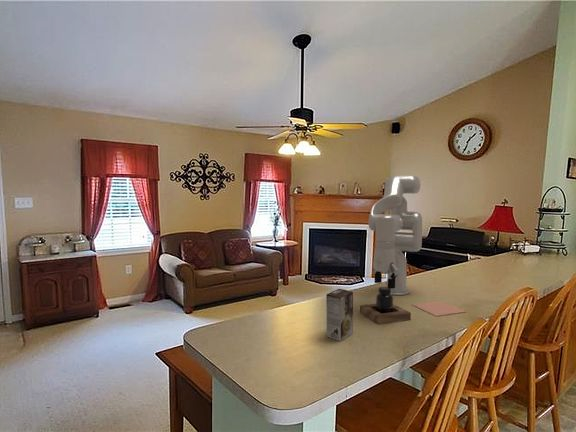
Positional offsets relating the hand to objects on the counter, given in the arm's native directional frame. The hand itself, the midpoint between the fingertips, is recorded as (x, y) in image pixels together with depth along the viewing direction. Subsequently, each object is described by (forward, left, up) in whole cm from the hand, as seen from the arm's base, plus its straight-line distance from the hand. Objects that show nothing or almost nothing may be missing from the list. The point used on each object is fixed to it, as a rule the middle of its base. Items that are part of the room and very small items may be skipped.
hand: (384, 285), depth 148 cm
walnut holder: (0, 0, -13) cm, 13 cm away
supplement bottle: (0, 0, -14) cm, 14 cm away
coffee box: (+12, -27, -14) cm, 32 cm away
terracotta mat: (0, +28, -13) cm, 31 cm away
